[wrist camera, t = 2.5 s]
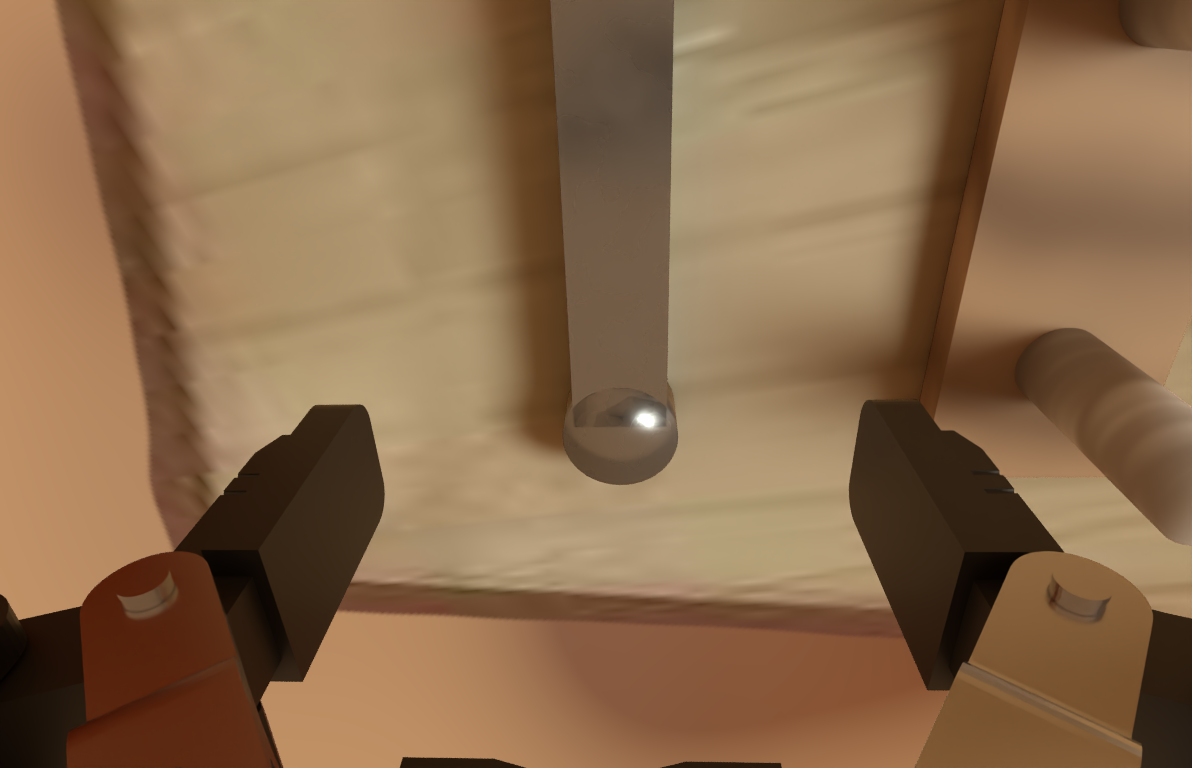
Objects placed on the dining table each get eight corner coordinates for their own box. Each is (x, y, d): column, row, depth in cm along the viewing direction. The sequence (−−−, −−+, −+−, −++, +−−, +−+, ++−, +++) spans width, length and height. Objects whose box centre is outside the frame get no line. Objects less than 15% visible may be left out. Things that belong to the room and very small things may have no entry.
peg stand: (1051, -216, 19) (1371, -376, 11) (1361, -231, 19) (1937, -410, 11) (907, 456, 30) (1015, 634, 22) (1105, 455, 29) (1293, 637, 21)
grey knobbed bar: (533, -175, 20) (521, -196, 18) (688, -183, 20) (695, -205, 18) (570, 449, 31) (565, 484, 28) (673, 449, 30) (676, 484, 28)
